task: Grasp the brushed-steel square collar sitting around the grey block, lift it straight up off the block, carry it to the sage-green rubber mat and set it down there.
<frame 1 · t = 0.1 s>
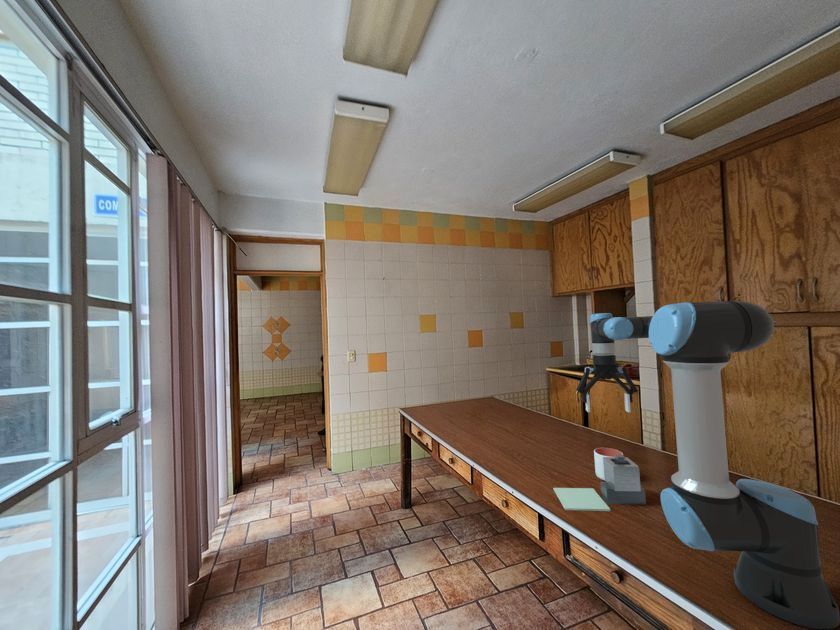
hand: (607, 411, 122), 28 cm above the table, fingers open, 13 cm apart
mat: (580, 499, 114), on the table
collar: (621, 485, 112), point 5 cm above the table, touching grey block
grey block: (623, 500, 112), on the table
cup: (610, 478, 128), on the table
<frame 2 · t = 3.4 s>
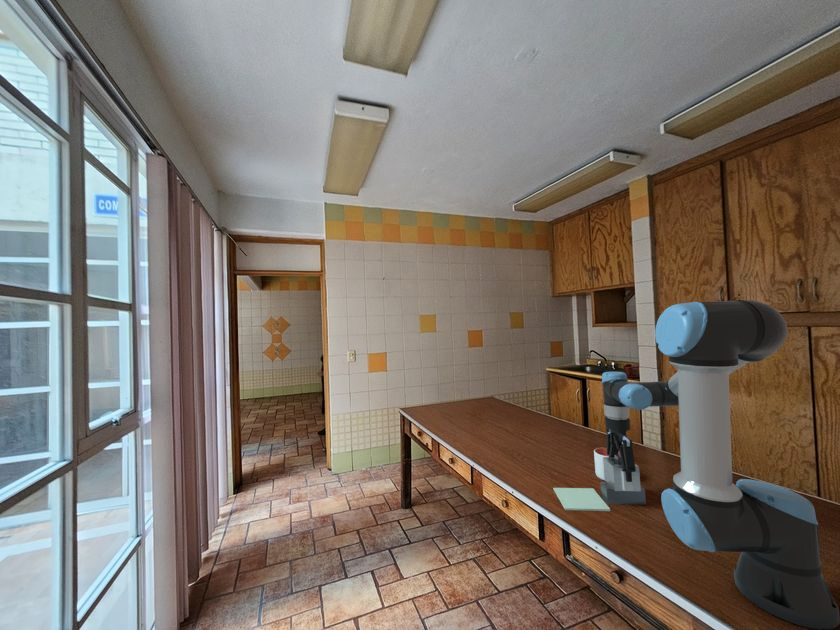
hand: (621, 484, 112), 5 cm above the table, fingers closed on collar, 8 cm apart
collar: (621, 485, 112), point 5 cm above the table, touching gripper, grey block
everything else where it was.
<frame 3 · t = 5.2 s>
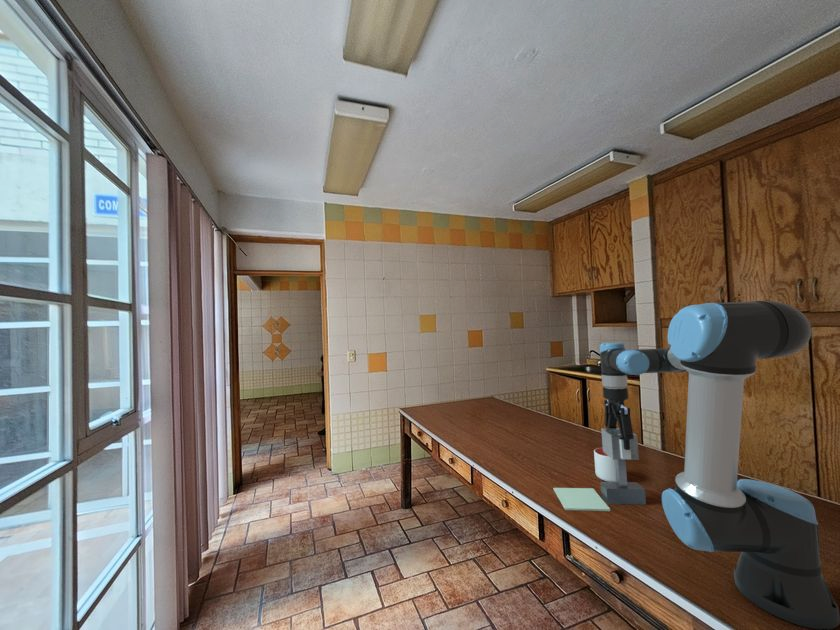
hand: (620, 453, 112), 16 cm above the table, fingers closed on collar, 8 cm apart
collar: (620, 455, 112), point 15 cm above the table, touching gripper
everything else where it was.
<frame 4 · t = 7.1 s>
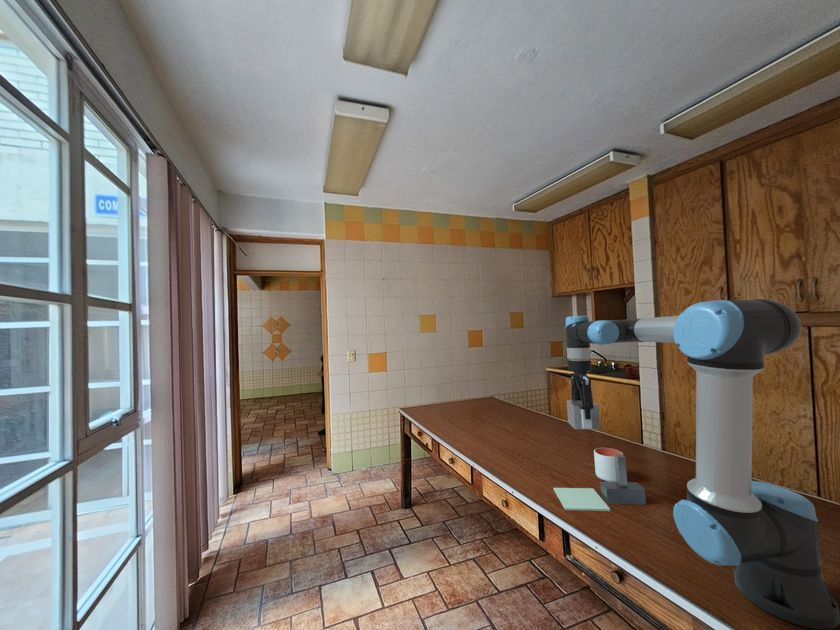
hand: (583, 424, 115), 26 cm above the table, fingers closed on collar, 8 cm apart
collar: (583, 425, 115), point 25 cm above the table, touching gripper
everything else where it was.
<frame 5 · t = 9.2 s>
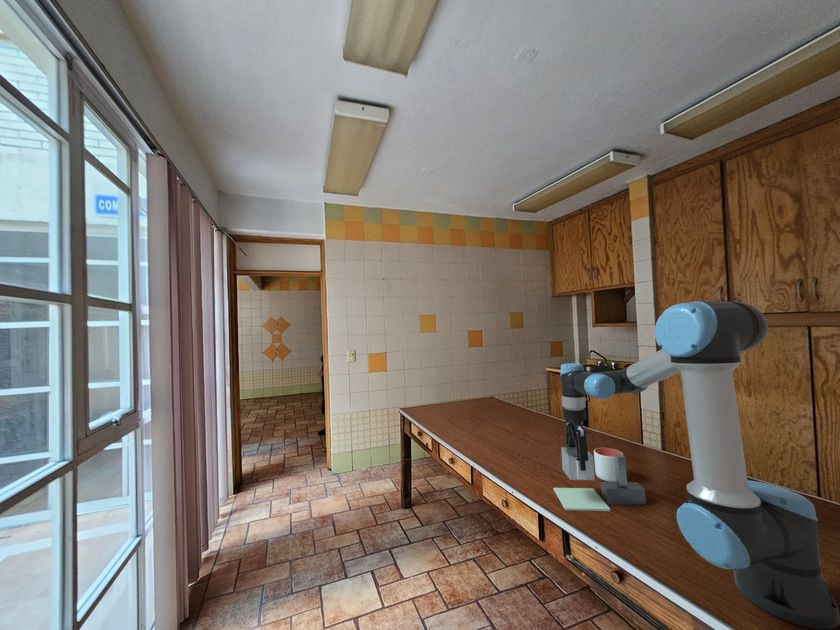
hand: (577, 473, 114), 9 cm above the table, fingers closed on collar, 8 cm apart
collar: (577, 474, 114), point 8 cm above the table, touching gripper
everything else where it was.
when the fingers open (2 cm above the table, at t = 10.9 s): collar drops 1 cm, resting on mat.
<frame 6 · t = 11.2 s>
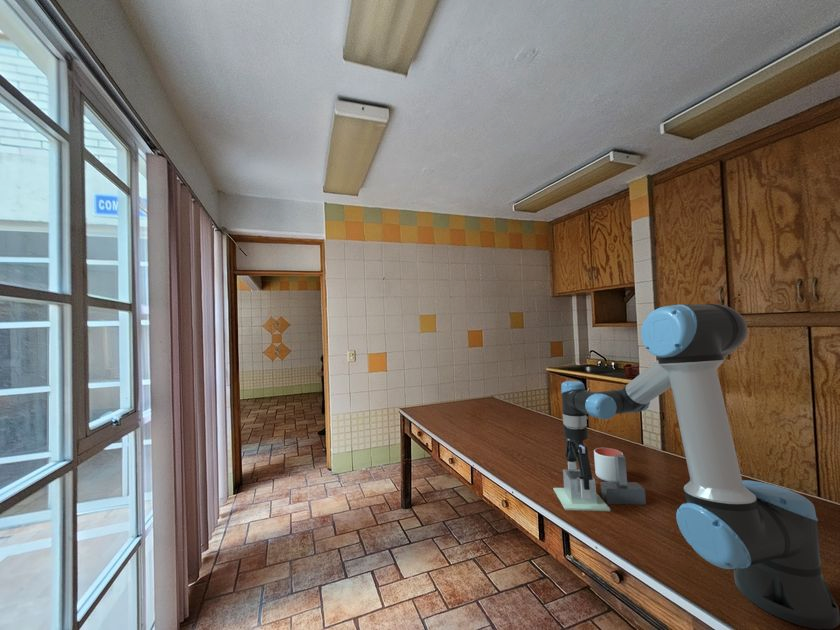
hand: (579, 488, 114), 4 cm above the table, fingers open, 12 cm apart
collar: (579, 497, 114), point 1 cm above the table, touching mat
everything else where it was.
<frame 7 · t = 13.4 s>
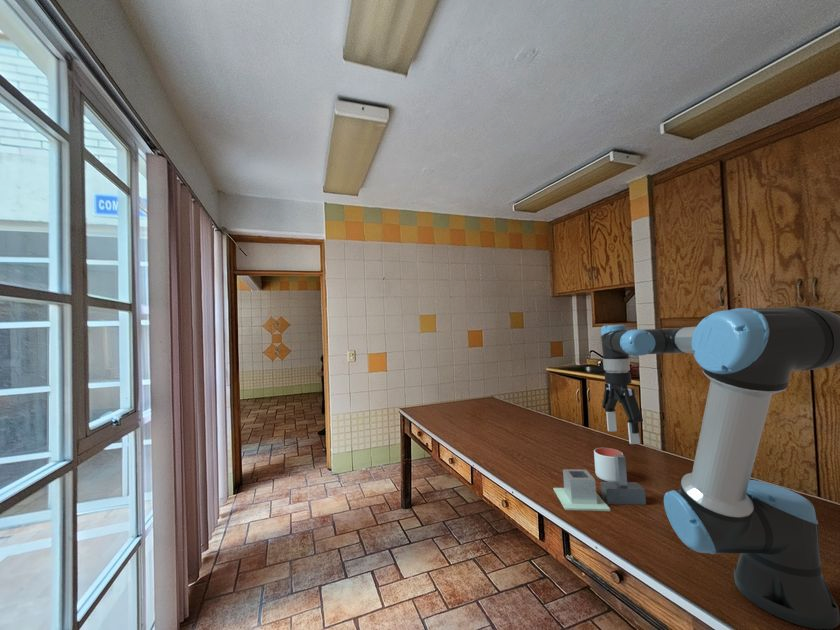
hand: (622, 437, 107), 23 cm above the table, fingers open, 13 cm apart
nothing on the table moved.
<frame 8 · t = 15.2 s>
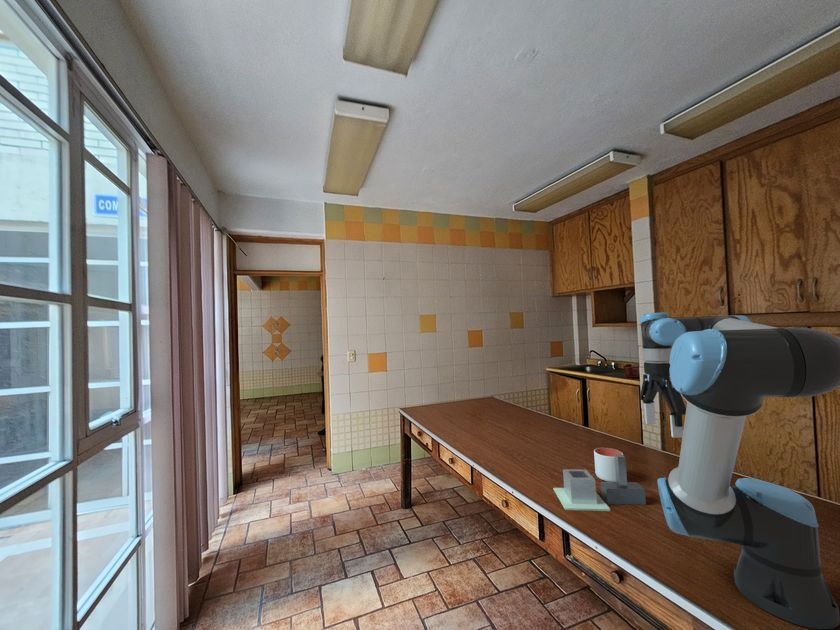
hand: (663, 430, 102), 27 cm above the table, fingers open, 13 cm apart
nothing on the table moved.
at the end: collar inside the target area on the mat (0.0 cm from its centre), point 0.6 cm above the mat's base; collar touching mat; the gripper is holding nothing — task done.
